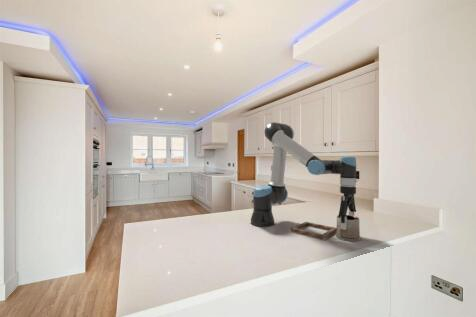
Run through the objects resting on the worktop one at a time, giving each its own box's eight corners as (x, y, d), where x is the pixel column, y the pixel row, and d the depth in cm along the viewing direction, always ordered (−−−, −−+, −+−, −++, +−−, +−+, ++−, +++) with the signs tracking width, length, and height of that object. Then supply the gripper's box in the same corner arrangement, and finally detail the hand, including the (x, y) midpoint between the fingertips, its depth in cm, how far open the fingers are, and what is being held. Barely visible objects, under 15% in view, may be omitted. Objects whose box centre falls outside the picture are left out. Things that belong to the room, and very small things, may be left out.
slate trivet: (332, 237, 116) (332, 235, 116) (339, 231, 125) (339, 230, 125) (357, 243, 108) (357, 241, 108) (363, 237, 117) (363, 235, 117)
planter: (335, 237, 114) (335, 218, 114) (337, 231, 124) (337, 213, 124) (359, 240, 109) (359, 221, 109) (359, 234, 119) (359, 216, 119)
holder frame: (290, 231, 125) (290, 228, 125) (305, 224, 139) (305, 221, 139) (324, 239, 112) (324, 236, 112) (337, 231, 126) (337, 228, 126)
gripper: (348, 188, 105) (347, 233, 105) (362, 184, 123) (361, 222, 123) (332, 187, 110) (331, 230, 110) (347, 183, 128) (347, 220, 128)
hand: (347, 226), depth 116 cm, fingers open, 13 cm apart
